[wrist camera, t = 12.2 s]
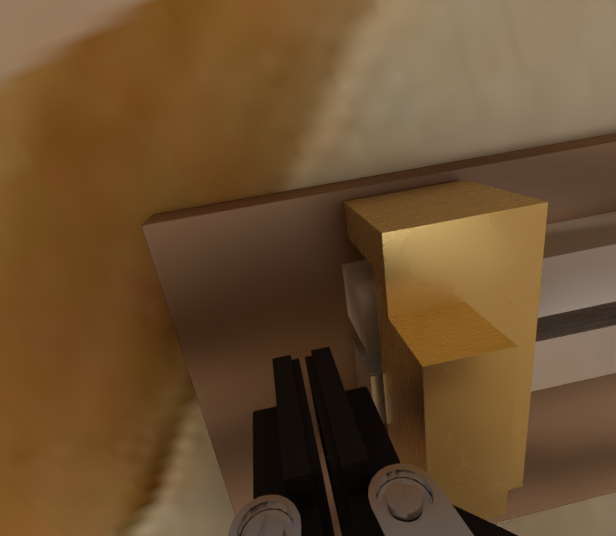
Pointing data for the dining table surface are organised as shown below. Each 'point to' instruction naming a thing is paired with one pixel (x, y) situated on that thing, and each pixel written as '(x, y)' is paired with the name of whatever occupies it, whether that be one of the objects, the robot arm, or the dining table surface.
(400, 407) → the pale yellow block
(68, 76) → the dining table surface
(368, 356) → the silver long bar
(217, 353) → the tongs board
